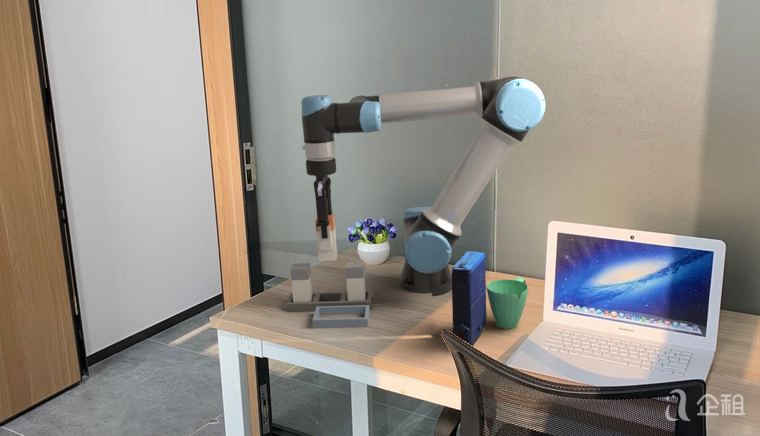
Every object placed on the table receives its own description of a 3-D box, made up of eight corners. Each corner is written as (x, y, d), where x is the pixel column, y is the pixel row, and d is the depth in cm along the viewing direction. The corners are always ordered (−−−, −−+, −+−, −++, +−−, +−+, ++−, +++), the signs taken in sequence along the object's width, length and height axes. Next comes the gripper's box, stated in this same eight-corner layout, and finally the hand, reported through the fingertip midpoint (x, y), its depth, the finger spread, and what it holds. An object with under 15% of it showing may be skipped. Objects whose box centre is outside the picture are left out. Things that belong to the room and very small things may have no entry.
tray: (369, 316, 176) (369, 305, 175) (368, 330, 168) (367, 318, 167) (317, 317, 177) (316, 306, 176) (313, 331, 168) (312, 320, 167)
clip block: (373, 300, 186) (373, 289, 185) (372, 313, 178) (371, 302, 177) (291, 302, 187) (290, 292, 186) (285, 315, 179) (284, 305, 178)
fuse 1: (312, 301, 184) (310, 263, 182) (310, 308, 180) (307, 268, 177) (296, 302, 185) (293, 263, 182) (293, 308, 180) (290, 269, 177)
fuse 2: (366, 300, 184) (364, 261, 181) (365, 306, 180) (363, 267, 177) (349, 300, 184) (347, 262, 181) (348, 307, 180) (345, 267, 177)
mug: (518, 336, 161) (519, 296, 158) (480, 328, 166) (480, 290, 163) (539, 313, 173) (540, 276, 170) (503, 307, 178) (503, 270, 175)
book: (472, 353, 154) (471, 269, 148) (449, 349, 156) (447, 267, 151) (488, 327, 166) (488, 249, 161) (467, 324, 169) (466, 247, 163)
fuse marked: (337, 254, 181) (334, 214, 178) (335, 260, 176) (332, 219, 173) (320, 255, 181) (317, 215, 178) (318, 261, 177) (315, 220, 174)
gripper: (310, 152, 180) (317, 237, 186) (300, 165, 163) (308, 258, 169) (338, 151, 180) (344, 235, 186) (331, 164, 163) (338, 256, 169)
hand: (327, 246), depth 178 cm, fingers closed on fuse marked, 4 cm apart
